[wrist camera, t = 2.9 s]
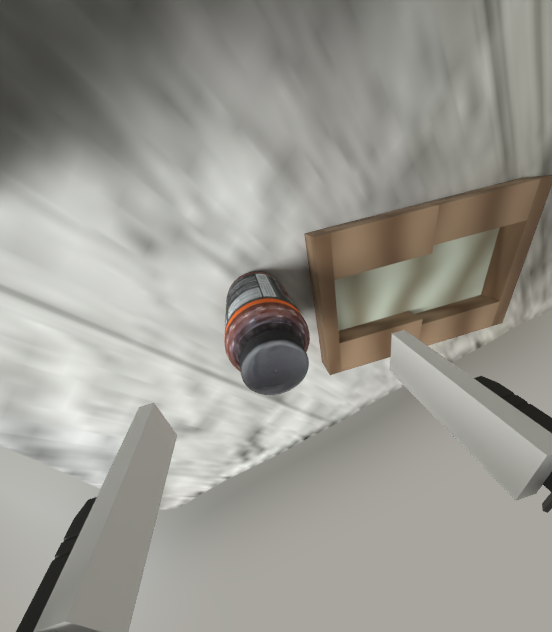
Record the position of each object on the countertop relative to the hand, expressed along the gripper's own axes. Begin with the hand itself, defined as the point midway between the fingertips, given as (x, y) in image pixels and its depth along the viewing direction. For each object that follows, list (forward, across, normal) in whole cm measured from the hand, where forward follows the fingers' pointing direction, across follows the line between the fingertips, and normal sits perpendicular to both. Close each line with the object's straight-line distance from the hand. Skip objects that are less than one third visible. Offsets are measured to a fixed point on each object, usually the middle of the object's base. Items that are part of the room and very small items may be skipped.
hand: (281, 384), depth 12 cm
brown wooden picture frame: (+12, +18, -2) cm, 22 cm away
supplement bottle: (+12, 0, 0) cm, 12 cm away
